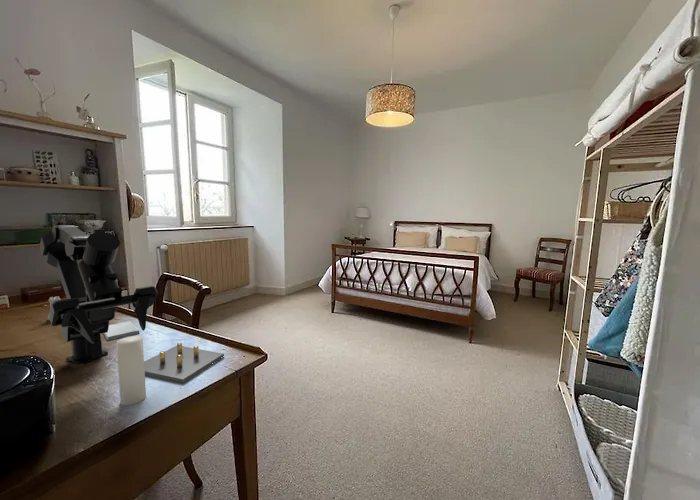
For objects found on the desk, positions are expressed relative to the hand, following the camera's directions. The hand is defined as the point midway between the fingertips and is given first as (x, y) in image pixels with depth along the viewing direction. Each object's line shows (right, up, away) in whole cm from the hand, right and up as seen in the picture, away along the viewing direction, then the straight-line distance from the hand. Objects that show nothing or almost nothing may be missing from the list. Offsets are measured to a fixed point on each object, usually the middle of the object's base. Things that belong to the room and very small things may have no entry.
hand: (120, 335), depth 66 cm
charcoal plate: (+5, -11, +14) cm, 18 cm away
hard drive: (-26, -9, +34) cm, 44 cm away
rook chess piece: (-56, -6, +44) cm, 72 cm away
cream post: (+4, -13, -2) cm, 14 cm away
